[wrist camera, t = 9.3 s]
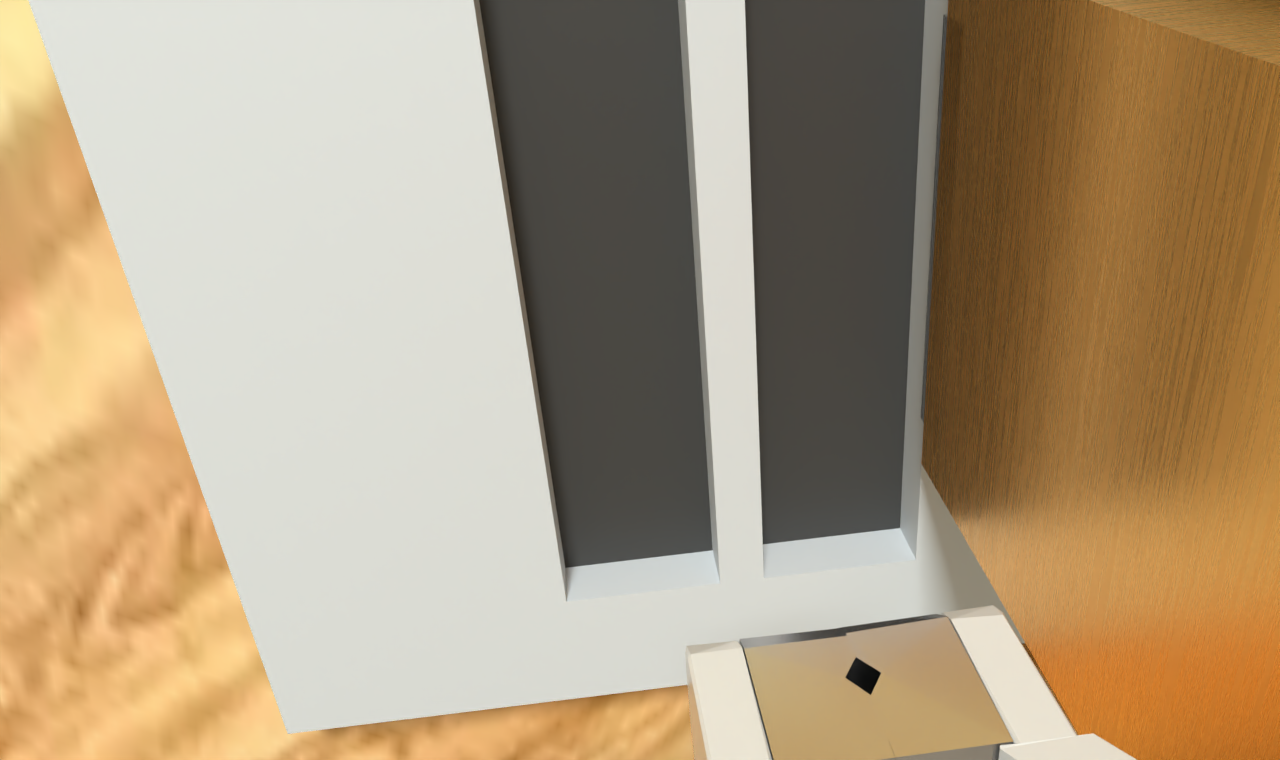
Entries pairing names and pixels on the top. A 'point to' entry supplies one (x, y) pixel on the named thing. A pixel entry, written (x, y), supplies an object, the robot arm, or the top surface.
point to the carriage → (1116, 353)
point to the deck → (531, 325)
